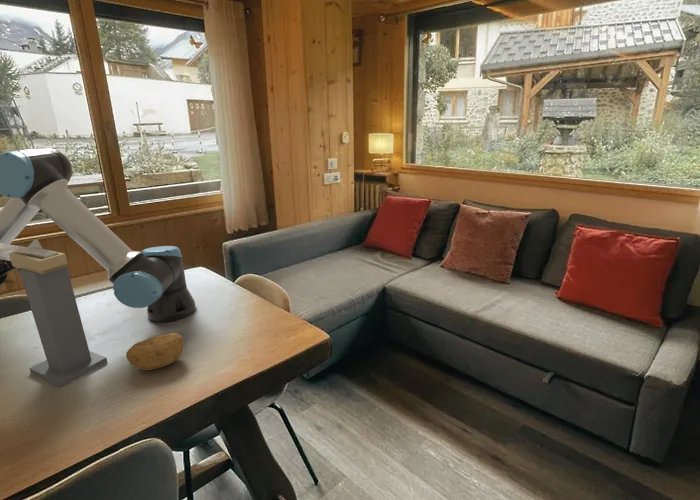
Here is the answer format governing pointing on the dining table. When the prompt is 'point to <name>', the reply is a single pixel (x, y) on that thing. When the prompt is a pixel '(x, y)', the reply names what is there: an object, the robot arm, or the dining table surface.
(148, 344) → the potato
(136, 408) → the dining table surface
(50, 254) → the rail
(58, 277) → the stand
